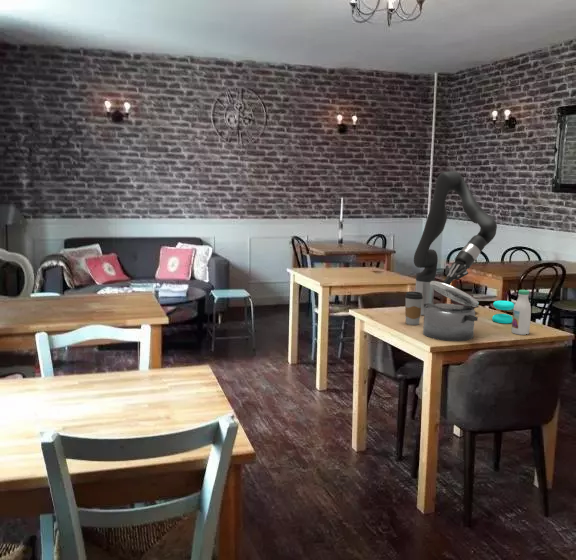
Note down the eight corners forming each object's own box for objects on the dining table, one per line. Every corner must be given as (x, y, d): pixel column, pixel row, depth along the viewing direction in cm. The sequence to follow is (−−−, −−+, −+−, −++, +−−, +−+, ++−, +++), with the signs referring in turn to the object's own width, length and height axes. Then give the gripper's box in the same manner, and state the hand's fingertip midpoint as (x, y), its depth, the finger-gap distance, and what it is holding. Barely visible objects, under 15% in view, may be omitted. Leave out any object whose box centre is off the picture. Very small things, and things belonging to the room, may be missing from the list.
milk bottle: (528, 332, 301) (532, 289, 297) (529, 335, 293) (533, 292, 290) (511, 330, 303) (514, 288, 300) (511, 334, 296) (514, 291, 293)
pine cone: (445, 309, 347) (446, 290, 345) (457, 307, 352) (459, 289, 350) (471, 315, 332) (472, 296, 330) (484, 313, 338) (485, 294, 336)
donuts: (504, 299, 325) (519, 303, 316) (503, 318, 327) (517, 323, 318) (489, 300, 321) (503, 304, 312) (487, 320, 323) (501, 324, 314)
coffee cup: (420, 322, 315) (422, 291, 313) (422, 326, 307) (423, 295, 305) (402, 321, 316) (404, 291, 314) (404, 325, 308) (406, 294, 305)
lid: (488, 312, 286) (491, 305, 286) (455, 288, 274) (459, 281, 274) (451, 302, 306) (454, 295, 306) (419, 280, 294) (422, 273, 294)
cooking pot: (491, 340, 284) (493, 313, 282) (454, 345, 273) (455, 318, 271) (442, 324, 311) (444, 300, 309) (406, 329, 300) (408, 304, 298)
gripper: (453, 248, 294) (430, 276, 290) (474, 252, 283) (451, 281, 279) (461, 259, 298) (439, 287, 294) (482, 263, 286) (460, 292, 282)
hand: (445, 284), depth 286 cm, fingers closed
